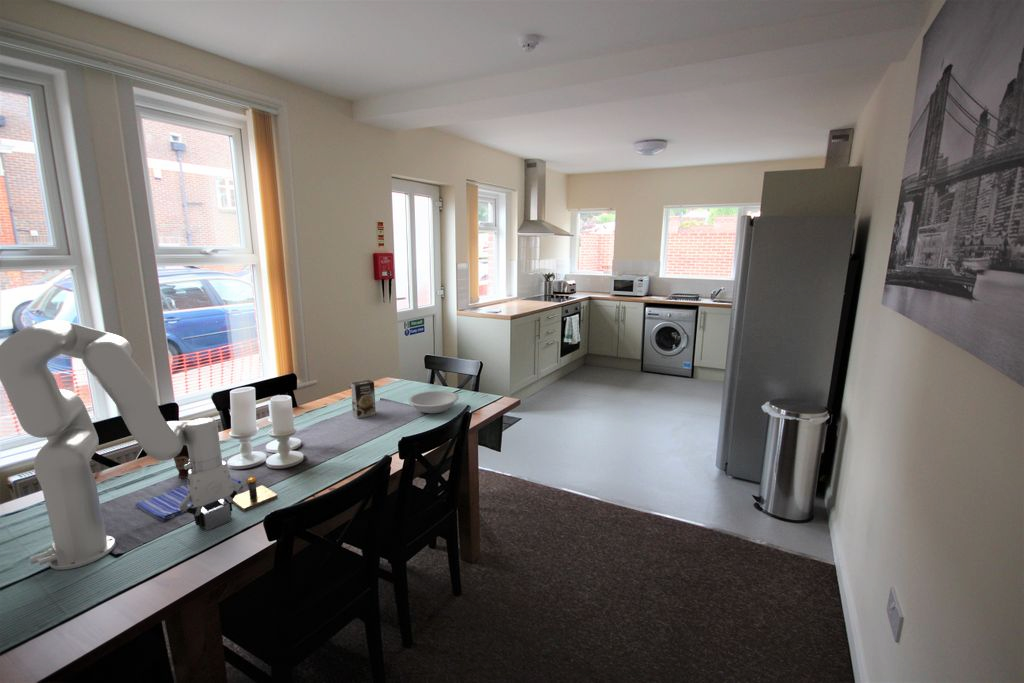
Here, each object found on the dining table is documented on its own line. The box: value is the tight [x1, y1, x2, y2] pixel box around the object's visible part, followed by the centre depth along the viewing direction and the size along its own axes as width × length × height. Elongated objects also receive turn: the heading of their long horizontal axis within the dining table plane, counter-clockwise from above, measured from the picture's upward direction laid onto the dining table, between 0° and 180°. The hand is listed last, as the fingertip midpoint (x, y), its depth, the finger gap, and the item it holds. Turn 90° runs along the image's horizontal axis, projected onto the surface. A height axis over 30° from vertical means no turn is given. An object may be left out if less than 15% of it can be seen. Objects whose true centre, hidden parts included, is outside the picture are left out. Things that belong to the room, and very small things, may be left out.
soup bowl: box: [407, 390, 460, 414], centre depth 225 cm, size 24×24×7 cm
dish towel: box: [135, 477, 242, 522], centre depth 148 cm, size 17×24×3 cm
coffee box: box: [350, 379, 377, 419], centre depth 219 cm, size 9×6×16 cm
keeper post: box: [231, 476, 278, 512], centre depth 145 cm, size 10×10×7 cm
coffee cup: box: [173, 445, 190, 479], centre depth 161 cm, size 9×8×13 cm
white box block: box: [201, 498, 232, 531], centre depth 133 cm, size 6×6×5 cm
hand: (214, 519), depth 134 cm, fingers closed on white box block, 6 cm apart
